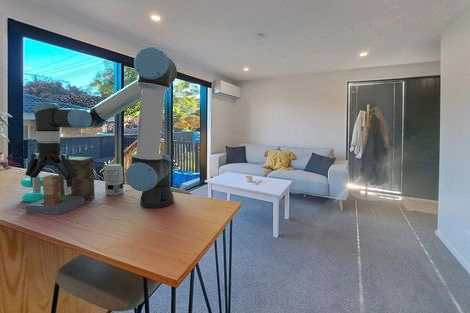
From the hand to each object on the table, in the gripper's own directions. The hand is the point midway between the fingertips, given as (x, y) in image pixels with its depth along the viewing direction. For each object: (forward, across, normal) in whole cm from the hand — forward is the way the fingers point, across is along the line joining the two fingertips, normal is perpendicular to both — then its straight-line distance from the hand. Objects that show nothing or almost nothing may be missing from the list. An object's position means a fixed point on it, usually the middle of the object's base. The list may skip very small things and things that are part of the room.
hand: (52, 193), depth 98 cm
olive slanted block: (+7, +1, -12) cm, 14 cm away
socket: (+7, 0, -2) cm, 7 cm away
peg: (+7, 0, 0) cm, 7 cm away
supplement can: (+7, -11, -26) cm, 29 cm away
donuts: (+7, +17, -10) cm, 21 cm away
